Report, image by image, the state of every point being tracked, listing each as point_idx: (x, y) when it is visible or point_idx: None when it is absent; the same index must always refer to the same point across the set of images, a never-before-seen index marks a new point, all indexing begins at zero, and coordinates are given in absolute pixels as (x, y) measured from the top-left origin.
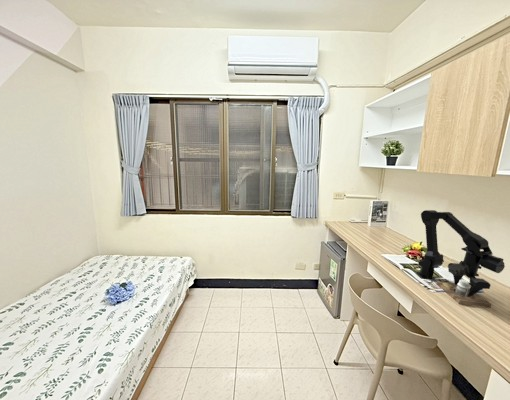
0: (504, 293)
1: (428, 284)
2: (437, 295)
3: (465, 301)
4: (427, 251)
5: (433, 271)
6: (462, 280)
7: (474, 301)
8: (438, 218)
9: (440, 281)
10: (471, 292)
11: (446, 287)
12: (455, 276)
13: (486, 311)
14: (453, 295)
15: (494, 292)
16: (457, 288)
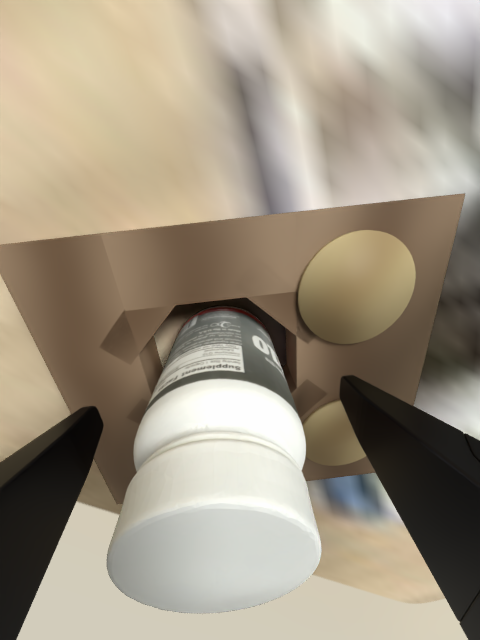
0: (340, 581)
1: (413, 45)
2: (106, 9)
3: (31, 317)
4: None
5: None
6: (263, 550)
7: (79, 405)
8: None
9: (452, 245)
10: (13, 464)
11: (298, 243)
12: (476, 493)
13: (50, 424)
14: (108, 233)
15: (342, 554)
16: (213, 345)
